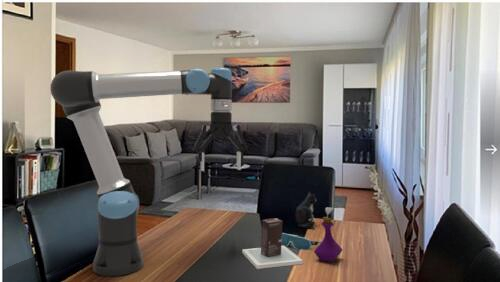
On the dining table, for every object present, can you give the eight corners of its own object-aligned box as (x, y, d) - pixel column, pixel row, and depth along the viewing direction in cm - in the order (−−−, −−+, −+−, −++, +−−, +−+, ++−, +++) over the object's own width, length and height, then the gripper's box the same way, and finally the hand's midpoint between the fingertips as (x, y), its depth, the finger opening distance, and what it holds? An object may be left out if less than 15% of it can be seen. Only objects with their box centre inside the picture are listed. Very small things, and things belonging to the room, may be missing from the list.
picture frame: (257, 269, 134) (257, 265, 133) (242, 252, 149) (242, 249, 149) (302, 263, 139) (302, 260, 138) (283, 248, 154) (283, 245, 154)
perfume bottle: (334, 265, 137) (336, 211, 136) (313, 261, 141) (314, 208, 140) (342, 258, 144) (343, 207, 143) (321, 254, 148) (323, 204, 146)
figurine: (322, 228, 180) (323, 194, 179) (301, 231, 177) (302, 195, 176) (311, 223, 189) (312, 190, 188) (291, 225, 186) (292, 191, 185)
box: (267, 258, 140) (268, 222, 139) (260, 254, 144) (260, 219, 143) (282, 254, 143) (283, 220, 142) (274, 251, 147) (275, 217, 146)
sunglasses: (274, 244, 159) (275, 231, 159) (295, 240, 171) (296, 228, 171) (306, 252, 150) (307, 238, 150) (326, 248, 162) (327, 235, 162)
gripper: (188, 111, 143) (188, 172, 145) (257, 112, 151) (256, 170, 153) (184, 111, 150) (184, 169, 152) (250, 111, 158) (250, 167, 160)
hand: (220, 170), depth 152 cm, fingers open, 13 cm apart
